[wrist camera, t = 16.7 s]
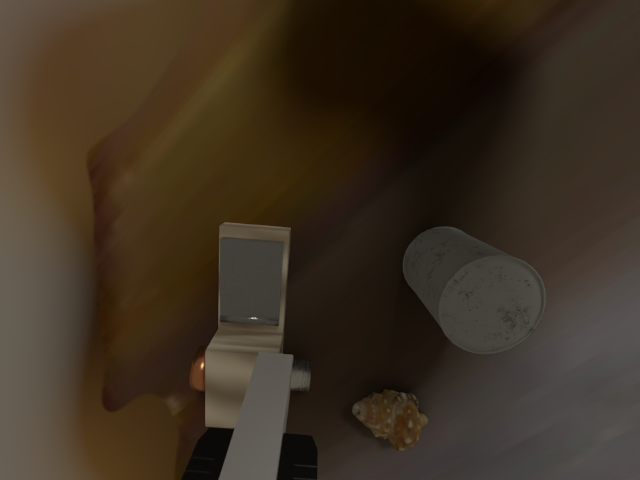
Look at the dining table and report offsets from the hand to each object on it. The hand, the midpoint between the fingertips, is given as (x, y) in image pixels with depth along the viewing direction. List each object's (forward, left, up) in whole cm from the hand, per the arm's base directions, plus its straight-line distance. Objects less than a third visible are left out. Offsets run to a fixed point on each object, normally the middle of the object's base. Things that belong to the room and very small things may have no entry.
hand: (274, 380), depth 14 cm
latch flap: (+5, -5, -24) cm, 25 cm away
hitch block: (+10, -5, -26) cm, 29 cm away
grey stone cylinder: (+2, +18, -26) cm, 32 cm away
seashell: (+23, +14, -26) cm, 38 cm away
